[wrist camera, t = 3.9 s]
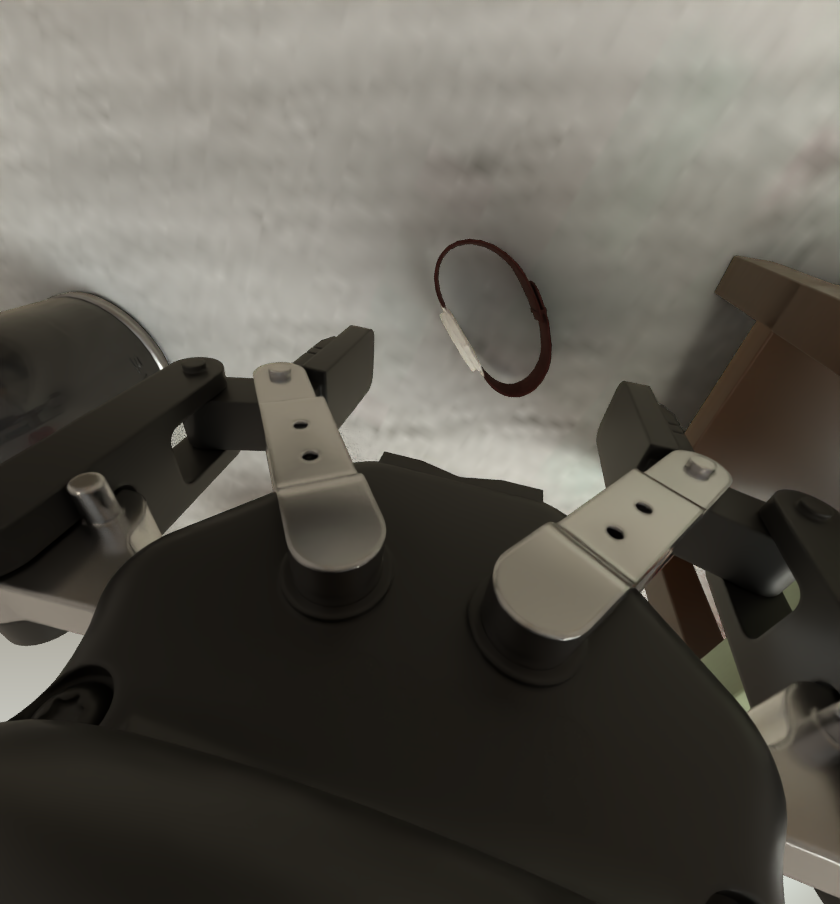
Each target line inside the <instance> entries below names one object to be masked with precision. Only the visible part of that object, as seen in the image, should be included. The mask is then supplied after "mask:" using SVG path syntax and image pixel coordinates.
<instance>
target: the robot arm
mask: <svg viewBox="0 0 840 904" xmlns="http://www.w3.org/2000/svg"><path fill="white" fill-rule="evenodd" d="M373 363H374V332H373V330H372V329H367V328H362V327H358V326H353V325H350V326H349V327H348V328H347V329H345V330H344V331H343V332H342V333H340V334H339V335H338V336H337V337H335V336H333V337H330V338H327V339H324V340H321V341H320V342H319V343H317V344H316V345H315V346H314V347H313V348H311V349H310V350H308V351H307V353H305V354H303V355H302V356H301V357H299V358H298V359H297V360H296V361H294V362H293V363H287V362H276V363H269V364H265V365H262V366H260V367H258V368H257V369H255V371H254V372H253V378H235V377H226V375H225V371H224V366H223V364H222V363H221V362H220V361H218V360H216V359H212V358H206V357H194V358H186V359H182V360H178V361H176V362H173V363H171V364H170V365H168V363H167V361H166V359H165V357H164V355H163V354H162V352H161V350H160V349H159V347H158V346H157V345H156V343H155V342H154V341H153V339H152V338H151V337H150V336H149V335H148V333H147V332H146V331H145V330H144V329H143V328H142V327H141V326H140V325H139V324H138V323H137V322H136V321H135V320H134V319H132V318H131V317H130V316H129V315H128V314H126V313H125V312H124V311H122V310H121V309H119V308H118V307H116V306H115V305H113V304H111V303H110V302H108V301H106V300H104V299H102V298H99V297H97V296H94V295H91V294H87V293H83V292H67V293H63V294H59V295H55V296H52V297H50V298H48V299H47V300H43V301H40V302H36V303H32V304H28V305H25V306H21V307H17V308H13V309H10V310H6V311H1V312H0V633H1V634H3V636H5V637H6V638H7V639H8V640H9V641H10V642H12V643H14V644H16V645H21V646H31V645H38V644H42V643H45V642H48V641H51V640H53V639H56V638H58V637H60V636H61V635H63V634H65V633H67V632H68V631H70V632H74V633H77V634H82V635H84V637H83V639H82V641H81V642H80V644H79V646H78V647H77V649H76V651H75V653H74V654H73V656H72V658H71V659H70V660H69V662H68V663H67V665H66V666H65V668H64V669H63V670H62V672H61V673H60V675H59V676H58V677H57V678H56V680H55V681H54V682H53V683H52V684H51V686H49V687H48V689H47V690H46V691H44V692H43V693H42V694H41V695H40V696H39V697H38V698H37V699H36V700H35V701H34V702H32V703H31V704H30V705H29V706H27V707H26V708H25V709H24V710H22V711H21V712H20V713H18V714H17V715H16V716H14V717H13V718H11V719H9V720H8V721H6V722H1V723H0V904H785V901H784V888H783V875H785V876H787V877H789V878H792V879H794V880H797V881H799V882H801V883H804V884H806V885H809V886H811V887H814V889H815V891H816V892H817V894H818V896H819V897H820V899H821V900H822V902H823V903H824V904H840V512H839V511H837V510H836V509H835V508H833V507H832V506H830V505H828V504H827V503H825V502H823V501H821V500H819V499H817V498H815V497H813V496H811V495H808V494H805V493H802V492H799V491H795V490H789V489H781V490H778V491H776V492H775V493H774V494H773V495H772V496H771V498H770V499H769V500H768V501H767V502H764V501H762V500H759V499H757V498H754V497H752V496H749V495H747V494H744V493H742V492H739V491H737V490H735V489H732V488H730V486H731V484H732V483H733V479H732V476H731V474H730V473H729V472H728V470H726V469H725V468H724V467H723V466H722V465H721V464H719V463H718V462H716V461H714V460H713V459H711V458H709V457H707V456H704V455H702V454H699V453H696V452H694V450H693V448H692V446H691V444H690V442H689V441H688V439H687V437H686V435H684V431H683V430H682V428H681V427H679V426H680V424H679V422H678V421H677V419H676V417H675V415H674V414H673V413H672V412H670V411H669V410H668V409H667V408H666V407H664V406H663V405H660V404H658V402H657V400H656V398H655V396H654V394H653V392H652V390H651V388H650V386H647V385H642V384H637V383H632V382H627V381H622V382H621V383H620V384H619V386H618V387H617V389H616V391H615V394H614V396H613V398H612V400H611V402H610V404H609V406H608V408H607V410H606V413H605V415H604V417H603V419H602V421H601V423H600V426H599V429H598V432H597V438H596V442H597V447H598V452H599V457H600V462H601V467H602V472H603V476H604V481H605V486H606V489H604V490H603V491H602V492H600V493H599V494H597V495H596V496H595V497H593V498H592V499H590V500H589V501H588V502H586V503H585V504H583V505H582V506H581V507H579V508H578V509H576V510H575V511H573V512H572V513H571V514H569V515H568V516H567V515H565V514H564V513H562V512H561V511H559V510H558V509H556V508H554V507H552V506H550V505H548V504H546V503H544V502H543V490H540V489H536V488H532V487H528V486H524V485H519V484H515V483H511V482H507V481H503V480H491V479H477V478H464V477H458V476H456V475H453V474H451V473H449V472H447V471H444V470H442V469H440V468H437V467H435V466H433V465H431V464H428V463H426V462H424V461H421V460H417V459H413V458H409V457H405V456H401V455H396V454H392V453H388V452H384V453H383V455H382V457H381V459H380V461H365V462H355V463H353V462H352V460H351V457H350V455H349V453H348V451H347V448H346V446H345V444H344V441H343V439H342V437H341V435H340V432H339V430H338V429H339V428H340V427H341V426H342V424H343V423H344V422H345V420H346V419H347V418H348V416H349V415H350V414H351V413H352V411H353V410H354V409H355V407H356V406H357V405H358V404H359V402H360V401H361V400H362V398H363V397H364V396H365V394H366V393H367V392H368V390H369V389H370V386H371V383H372V378H373ZM182 422H183V425H184V428H185V431H186V434H187V437H186V438H184V439H183V440H182V441H181V442H180V443H178V444H177V445H176V446H175V447H174V448H173V449H172V446H171V437H172V434H173V431H174V430H175V428H176V427H177V426H178V425H180V424H181V423H182ZM240 450H250V451H266V456H267V461H268V466H269V472H270V477H271V482H272V488H273V493H270V494H268V495H265V496H263V497H260V498H257V499H255V500H252V501H250V502H247V503H245V504H242V505H240V506H237V507H235V508H232V509H230V510H227V511H225V512H222V513H220V514H217V515H215V516H212V517H210V518H207V519H205V520H202V521H200V522H197V523H194V524H192V525H189V526H187V527H184V528H182V529H179V530H177V531H174V532H172V533H169V534H167V535H165V536H163V537H162V535H163V534H164V533H165V532H166V531H167V529H168V528H169V527H170V526H171V525H172V524H173V523H174V522H175V521H176V520H177V519H178V518H179V517H180V516H181V515H182V513H183V512H184V511H185V510H186V509H187V508H188V507H189V506H190V505H191V504H192V503H193V502H194V501H195V500H196V499H197V497H198V496H199V495H200V494H201V493H202V492H203V491H204V490H205V489H206V488H207V487H208V486H209V485H210V484H211V483H212V481H213V480H214V479H215V478H216V477H217V476H218V475H219V474H220V473H221V472H222V471H223V470H224V469H225V468H226V467H227V465H228V464H229V463H230V462H231V461H232V460H233V459H234V458H235V457H236V456H237V455H238V454H239V452H240ZM674 555H675V556H677V557H679V558H681V559H683V560H685V561H687V562H689V563H691V564H693V565H696V566H698V567H700V568H702V569H704V570H705V574H706V578H707V581H708V584H709V587H710V590H711V593H712V596H713V598H714V601H715V604H716V607H717V610H718V613H719V616H720V619H721V622H722V625H723V628H724V631H725V634H726V637H727V640H728V643H729V646H730V649H731V652H732V655H733V658H734V661H735V664H736V667H737V670H738V673H739V676H740V679H741V682H742V685H743V688H744V691H745V694H746V697H747V700H748V703H749V705H750V708H751V709H750V710H748V711H747V712H746V711H745V709H744V708H743V707H742V706H741V705H740V704H739V702H738V701H737V700H736V699H735V698H734V697H733V695H732V694H731V693H730V692H729V691H728V690H727V689H726V688H725V687H724V685H723V684H722V683H721V682H720V681H719V680H718V679H717V678H716V677H715V675H714V674H713V673H712V672H711V671H710V670H709V669H708V668H707V667H706V665H705V664H704V663H703V662H702V661H701V660H700V659H699V658H698V657H697V655H696V654H695V653H694V652H693V651H692V650H691V649H690V648H689V647H688V645H687V644H686V643H685V642H684V641H683V640H682V639H681V638H680V637H679V635H678V634H677V633H676V632H675V631H674V630H673V629H672V628H671V627H670V625H669V624H668V623H667V622H666V621H665V620H664V619H663V618H662V617H661V615H660V614H659V613H658V612H657V611H656V610H655V609H654V608H653V607H652V605H651V604H650V603H649V602H648V601H647V600H646V599H645V598H644V597H643V595H642V594H641V593H640V592H641V591H642V590H643V589H644V588H645V587H646V586H647V585H648V584H649V583H650V581H651V580H652V579H653V578H654V577H655V576H656V575H657V574H658V573H659V572H660V570H661V569H662V568H663V567H664V566H665V565H666V564H667V563H668V562H669V560H670V559H671V558H672V557H673V556H674ZM795 580H796V582H797V584H798V586H799V589H800V600H799V603H798V605H797V607H796V608H795V609H794V610H793V611H792V609H791V607H790V605H789V603H788V601H787V600H786V598H785V596H784V594H783V592H782V591H783V590H785V589H786V588H787V587H788V586H789V585H791V584H792V583H793V582H794V581H795Z"/></svg>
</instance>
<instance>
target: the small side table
mask: <svg viewBox="0 0 840 904" xmlns="http://www.w3.org/2000/svg"><path fill="white" fill-rule="evenodd" d="M714 293H715V294H717V295H718V296H720V297H721V298H723V299H724V300H726V301H727V302H729V303H730V304H732V305H733V306H735V307H736V308H738V309H739V310H741V311H742V312H744V313H745V314H747V315H748V316H750V317H751V318H753V319H754V320H756V322H755V324H754V326H753V327H752V329H751V330H750V332H749V333H748V335H747V336H746V338H745V340H744V341H743V343H742V344H741V346H740V347H739V349H738V350H737V352H736V354H735V355H734V357H733V358H732V360H731V361H730V363H729V364H728V366H727V368H726V369H725V371H724V372H723V374H722V375H721V377H720V379H719V380H718V382H717V383H716V385H715V386H714V388H713V389H712V391H711V393H710V394H709V396H708V397H707V399H706V400H705V402H704V403H703V405H702V407H701V408H700V410H699V411H698V413H697V414H696V416H695V418H694V419H693V421H692V422H691V424H690V425H689V427H688V428H687V430H686V432H685V433H684V435H686V437H687V439H688V441H689V442H690V444H691V446H692V448H693V450H694V452H696V453H699V454H702V455H704V456H707V457H709V458H711V459H713V460H714V461H716V462H718V463H719V464H721V465H722V466H723V467H724V468H725V469H726V470H728V472H729V473H730V474H731V476H732V479H733V483H732V484H731V486H730V488H732V489H735V490H737V491H739V492H742V493H744V494H747V495H749V496H752V497H754V498H757V499H759V500H762V501H764V502H767V501H768V500H769V499H770V498H771V496H772V495H773V494H774V493H775V492H776V491H778V490H781V489H789V490H795V491H799V492H802V493H805V494H808V495H811V496H813V497H815V498H817V499H819V500H821V501H823V502H825V503H827V504H828V505H830V506H832V507H833V508H835V509H836V510H837V511H839V512H840V285H836V284H832V283H829V282H826V281H824V280H821V279H818V278H816V277H813V276H810V275H808V274H805V273H802V272H800V271H797V270H794V269H792V268H789V267H786V266H784V265H781V264H778V263H776V262H773V261H767V260H761V259H755V258H748V257H742V256H734V257H733V259H732V261H731V263H730V265H729V267H728V268H727V270H726V272H725V274H724V276H723V277H722V279H721V281H720V283H719V285H718V287H717V288H716V290H715V292H714ZM645 591H646V594H647V598H648V602H649V603H650V604H651V605H652V607H653V608H654V609H655V610H656V611H657V612H658V613H659V614H660V615H661V617H662V618H663V619H664V620H665V621H666V622H667V623H668V624H669V625H670V627H671V628H672V629H673V630H674V631H675V632H676V633H677V634H678V635H679V637H680V638H681V639H682V640H683V641H684V642H685V643H686V644H687V645H688V647H689V648H690V649H691V650H692V651H693V652H694V653H695V654H696V655H697V657H698V658H699V659H700V660H701V661H702V662H703V663H704V664H705V665H706V667H707V668H708V669H709V670H710V671H711V672H712V673H713V674H714V675H715V677H716V678H717V679H718V680H719V681H720V682H721V683H722V684H723V685H724V687H725V688H726V689H727V690H728V691H729V692H730V693H731V694H732V695H733V697H734V698H735V699H736V700H737V701H738V702H739V704H740V705H741V706H742V707H743V708H744V709H745V711H746V712H747V711H748V710H750V709H751V708H750V705H749V703H748V700H747V697H746V694H745V691H744V688H743V685H742V682H741V679H740V676H739V673H738V670H737V667H736V664H735V661H734V658H733V655H732V652H731V649H730V646H729V643H728V640H727V638H725V639H723V637H722V634H721V632H720V630H719V627H718V625H717V622H716V620H715V617H714V615H713V612H712V610H711V608H710V605H709V603H708V600H707V598H706V595H705V593H704V590H703V588H702V586H701V583H700V581H699V578H698V576H697V573H696V571H695V568H694V566H693V564H691V563H689V562H687V561H685V560H683V559H681V558H679V557H677V556H675V555H674V556H673V557H672V558H671V559H670V560H669V562H668V563H667V564H666V565H665V566H664V567H663V568H662V569H661V570H660V572H659V573H658V574H657V575H656V576H655V577H654V578H653V579H652V580H651V581H650V583H649V584H648V585H647V586H646V587H645ZM782 592H783V594H784V596H785V598H786V600H787V601H788V603H789V605H790V607H791V609H792V611H793V610H794V609H795V608H796V607H797V605H798V603H799V600H800V589H799V586H798V584H797V582H796V580H795V581H794V582H793V583H792V584H791V585H789V586H788V587H787V588H786V589H785V590H783V591H782Z"/></svg>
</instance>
